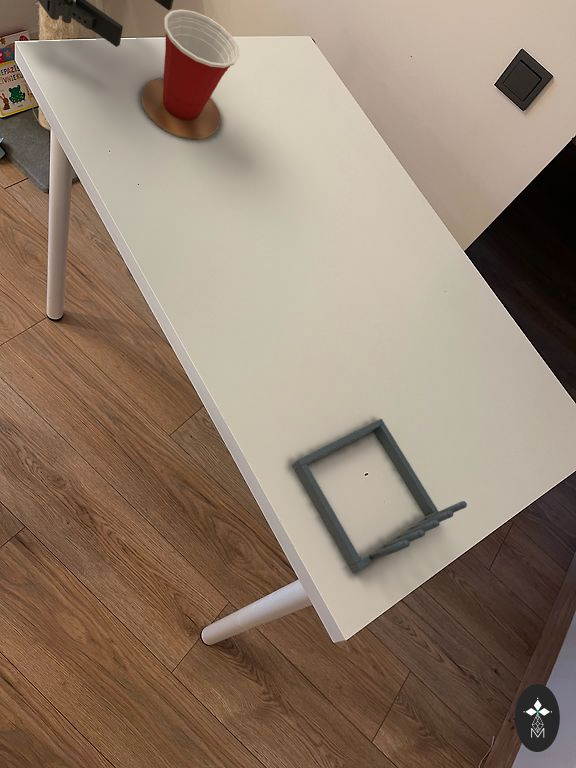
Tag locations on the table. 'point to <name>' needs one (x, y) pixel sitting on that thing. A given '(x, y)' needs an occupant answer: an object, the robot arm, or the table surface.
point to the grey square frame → (410, 479)
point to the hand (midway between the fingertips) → (147, 18)
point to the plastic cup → (194, 61)
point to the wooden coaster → (178, 127)
